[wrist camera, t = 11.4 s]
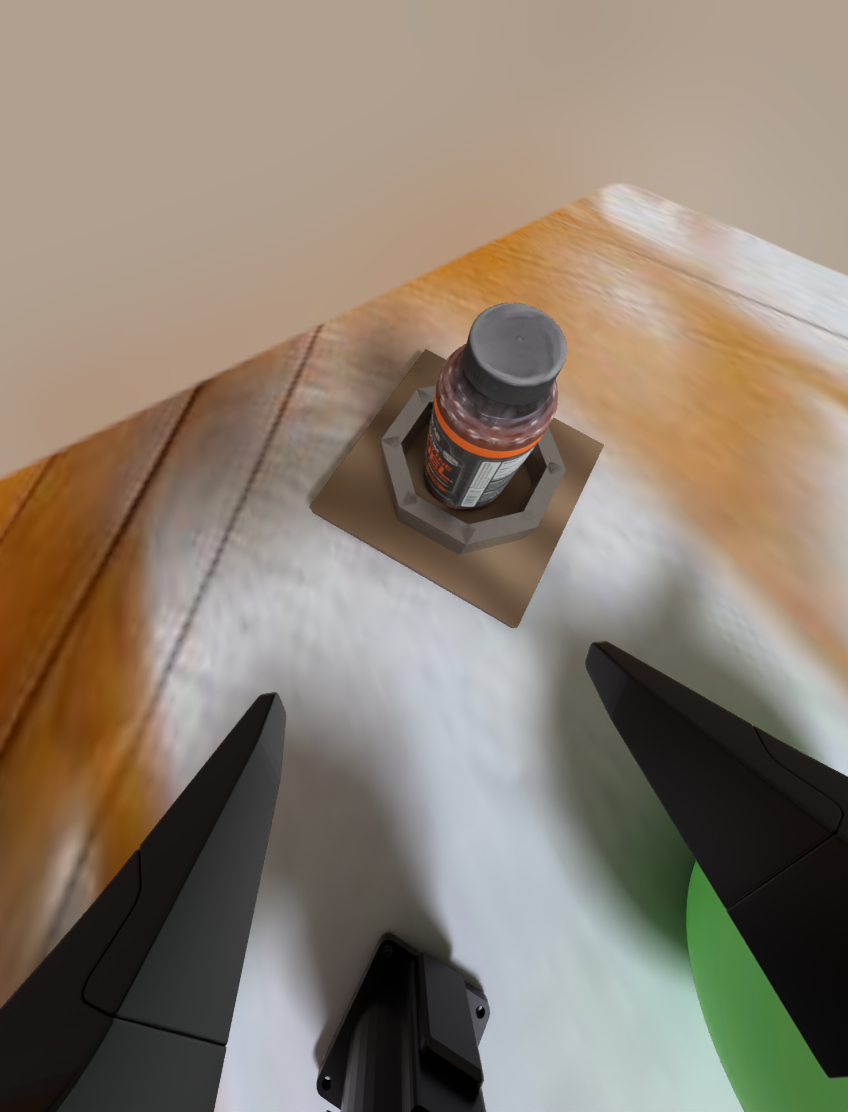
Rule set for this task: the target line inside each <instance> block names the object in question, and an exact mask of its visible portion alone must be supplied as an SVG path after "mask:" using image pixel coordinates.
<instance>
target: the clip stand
mask: <svg viewBox="0 0 848 1112" xmlns="http://www.w3.org/2000/svg"><path fill="white" fill-rule="evenodd" d="M446 361H447V360H445V359H443V358H442V357H440V356H438V355H436V354H434V353H432V352H430V351H429V350H427V349H425V351H424V352H423V353H422V355H421V356H420V358H419V359H418V360H417V362H416V363H415V364H414V366H413V367H412V368H411V370H410V371H409V372H408V374H407V375H406V377H405V378H404V379H403V381H402V382H401V383H400V385H399V386H398V387H397V389H396V390H395V391H394V393H393V394H392V396H391V397H390V398H389V400H388V401H387V402H386V404H385V405H384V406H383V408H382V409H381V410H380V412H379V413H378V415H377V416H376V417H375V419H374V420H373V421H372V423H371V424H370V425H369V427H368V428H367V429H366V431H365V432H364V434H363V435H362V436H361V438H360V439H359V440H358V442H357V443H356V444H355V446H354V447H353V449H352V450H351V451H350V453H349V454H348V455H347V457H346V458H345V459H344V461H343V462H342V463H341V465H340V466H339V468H338V469H337V470H336V472H335V473H334V474H333V476H332V477H331V478H330V480H329V481H328V482H327V484H326V485H325V487H324V488H323V489H322V491H321V492H320V493H319V495H318V496H317V497H316V499H315V500H314V501H313V503H312V504H311V506H310V509H311V510H312V512H313V513H315V514H316V515H318V516H320V517H321V518H323V519H325V520H327V521H328V522H330V523H332V524H334V525H335V526H337V527H339V528H340V529H342V530H344V531H346V532H347V533H349V534H351V535H353V536H354V537H356V538H358V539H359V540H361V541H363V542H365V543H366V544H368V545H370V546H371V547H373V548H375V549H377V550H378V551H380V552H382V553H384V554H385V555H387V556H389V557H390V558H392V559H394V560H396V561H397V562H399V563H401V564H403V565H404V566H406V567H408V568H409V569H411V570H413V571H415V572H416V573H418V574H420V575H421V576H423V577H425V578H427V579H428V580H430V581H432V582H434V583H435V584H437V585H439V586H440V587H442V588H444V589H446V590H447V591H449V592H451V593H453V594H454V595H456V596H458V597H459V598H461V599H463V600H465V601H466V602H468V603H470V604H471V605H473V606H475V607H477V608H478V609H480V610H482V611H484V612H485V613H487V614H489V615H490V616H492V617H494V618H496V619H497V620H499V621H501V622H503V623H504V624H506V625H508V626H509V627H511V628H517V627H518V625H519V623H520V621H521V619H522V617H523V614H524V612H525V610H526V608H527V606H528V604H529V602H530V600H531V598H532V595H533V593H534V591H535V589H536V587H537V585H538V583H539V581H540V579H541V577H542V574H543V572H544V570H545V568H546V566H547V564H548V562H549V560H550V558H551V556H552V553H553V551H554V549H555V547H556V545H557V543H558V541H559V539H560V537H561V534H562V532H563V530H564V528H565V526H566V524H567V522H568V520H569V518H570V516H571V513H572V511H573V509H574V507H575V505H576V503H577V501H578V499H579V497H580V495H581V492H582V490H583V488H584V486H585V484H586V482H587V480H588V478H589V476H590V473H591V471H592V469H593V467H594V465H595V463H596V461H597V459H598V457H599V455H600V452H601V450H602V448H603V446H604V445H603V444H602V443H600V442H598V441H596V440H594V439H592V438H590V437H589V436H587V435H585V434H583V433H581V432H579V431H577V430H576V429H574V428H572V427H570V426H568V425H566V424H564V423H563V422H561V421H559V420H557V419H555V418H553V420H552V422H551V424H550V425H549V429H550V431H551V434H552V436H553V439H554V441H555V444H556V446H557V448H558V451H559V453H560V456H561V458H562V461H563V463H564V466H565V468H566V471H565V473H564V475H563V477H562V479H561V481H560V483H559V485H558V487H557V489H556V491H555V493H554V495H553V497H552V499H551V501H550V503H549V505H548V507H547V509H546V511H545V513H544V515H543V517H542V519H541V521H540V523H539V525H538V527H537V528H536V529H535V530H534V531H532V532H531V533H530V534H529V535H527V536H526V537H525V538H524V539H521V540H517V541H513V542H509V543H505V544H501V545H497V546H493V547H489V548H485V549H481V550H477V551H473V552H469V553H465V554H461V555H457V554H456V553H454V552H452V551H450V550H449V549H447V548H445V547H443V546H442V545H440V544H438V543H437V542H435V541H433V540H431V539H430V538H428V537H426V536H424V535H423V534H421V533H419V532H417V531H416V530H414V529H412V528H410V527H409V526H407V525H405V524H403V523H402V522H400V521H398V517H397V513H396V509H395V506H394V502H393V498H392V494H391V491H390V487H389V483H388V480H387V476H386V472H385V468H384V465H383V461H382V453H381V439H382V438H383V436H384V435H385V434H386V432H387V431H388V429H389V428H390V427H391V425H392V424H393V422H394V421H395V420H396V418H397V417H398V415H399V414H400V413H401V411H402V410H403V408H404V407H405V406H406V404H407V403H408V401H409V400H410V398H411V397H412V396H413V394H414V393H415V391H416V390H417V389H419V388H425V387H431V386H436V385H437V381H438V377H439V374H440V371H441V369H442V367H443V365H444V363H445V362H446ZM429 427H430V425H426V426H425V428H424V429H423V431H422V432H421V434H420V435H419V436H418V438H417V439H416V441H415V442H414V444H413V445H412V447H411V448H410V450H409V451H408V453H407V454H406V456H405V459H406V463H407V466H408V470H409V473H410V477H411V480H412V484H413V487H414V491H415V494H416V496H418V497H420V498H422V499H424V500H425V501H427V502H429V503H431V504H432V505H434V506H436V507H438V508H439V509H441V510H443V511H445V512H447V513H448V514H450V515H452V516H454V517H455V518H457V519H459V520H461V521H462V522H464V523H466V524H468V525H469V524H473V523H477V522H482V521H486V520H490V519H494V518H499V517H503V516H507V515H511V514H516V513H517V511H518V509H519V508H520V506H521V504H522V502H523V500H524V498H525V496H526V494H527V492H528V491H529V489H530V487H531V485H532V483H531V480H530V478H529V475H528V472H527V470H526V467H525V464H524V462H523V463H522V465H521V466H520V467H519V469H518V470H517V471H516V473H515V474H514V476H513V477H512V478H511V480H510V481H509V482H508V484H507V485H506V486H505V488H504V489H503V490H502V492H501V493H500V494H499V495H498V497H497V498H496V499H495V500H494V501H493V502H492V503H490V504H489V505H487V506H485V507H483V508H481V509H477V510H473V511H462V510H455V509H452V508H449V507H447V506H446V505H444V504H442V503H441V502H439V501H438V500H437V499H436V498H435V497H434V496H433V495H432V494H431V492H430V491H429V489H428V487H427V485H426V482H425V479H424V472H423V471H424V457H425V450H426V445H427V439H428V433H429Z"/></svg>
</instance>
